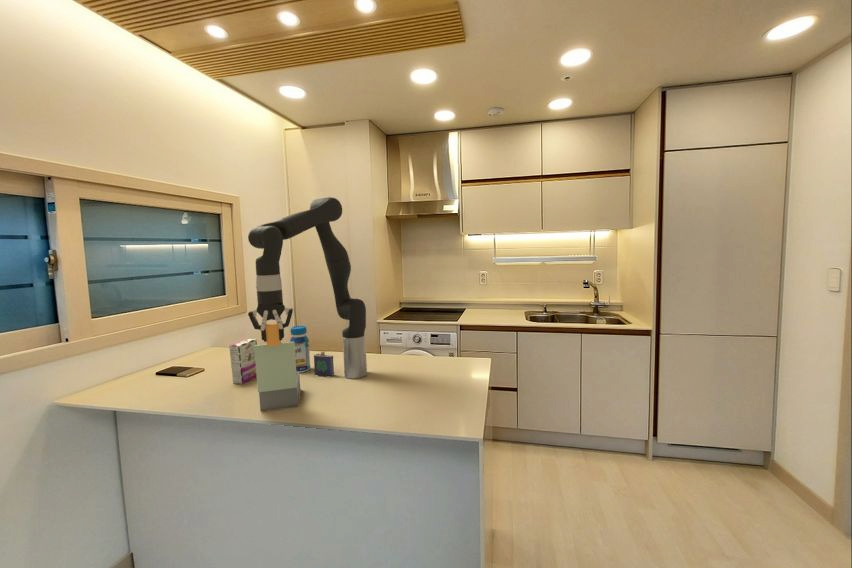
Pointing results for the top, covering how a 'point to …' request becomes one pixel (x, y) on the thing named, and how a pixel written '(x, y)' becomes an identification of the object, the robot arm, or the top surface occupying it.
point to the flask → (323, 364)
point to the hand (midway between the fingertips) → (273, 340)
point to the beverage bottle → (301, 348)
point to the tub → (280, 398)
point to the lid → (275, 362)
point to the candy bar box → (243, 361)
